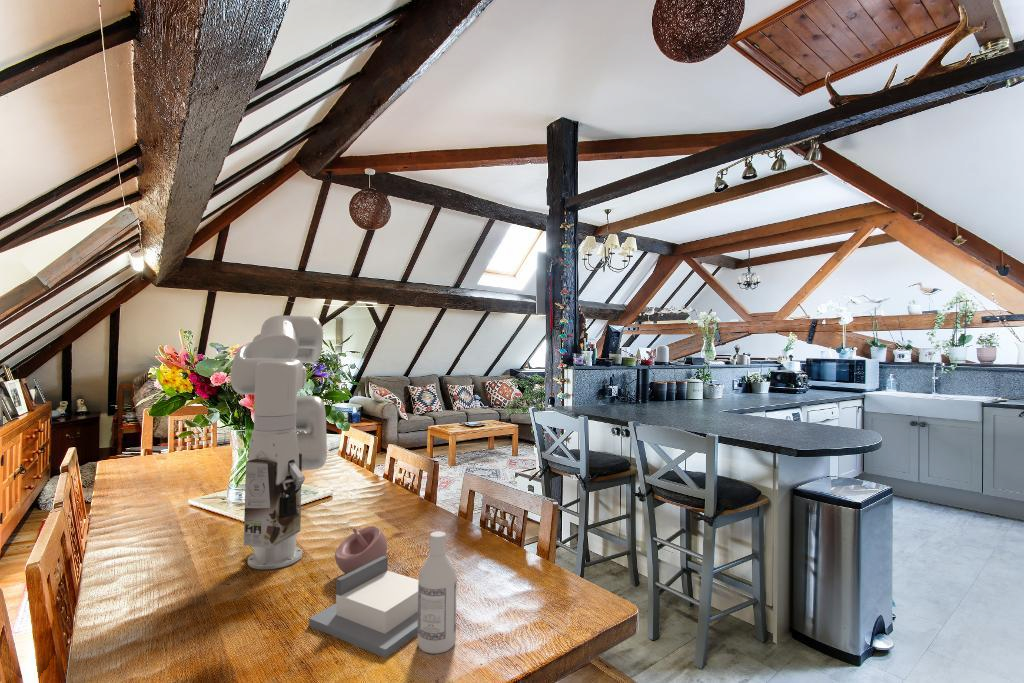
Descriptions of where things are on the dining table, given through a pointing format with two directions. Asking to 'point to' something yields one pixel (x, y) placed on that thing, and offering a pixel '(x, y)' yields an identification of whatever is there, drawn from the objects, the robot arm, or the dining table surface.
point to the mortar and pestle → (361, 548)
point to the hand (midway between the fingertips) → (273, 511)
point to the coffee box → (267, 506)
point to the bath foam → (437, 599)
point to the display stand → (372, 609)
